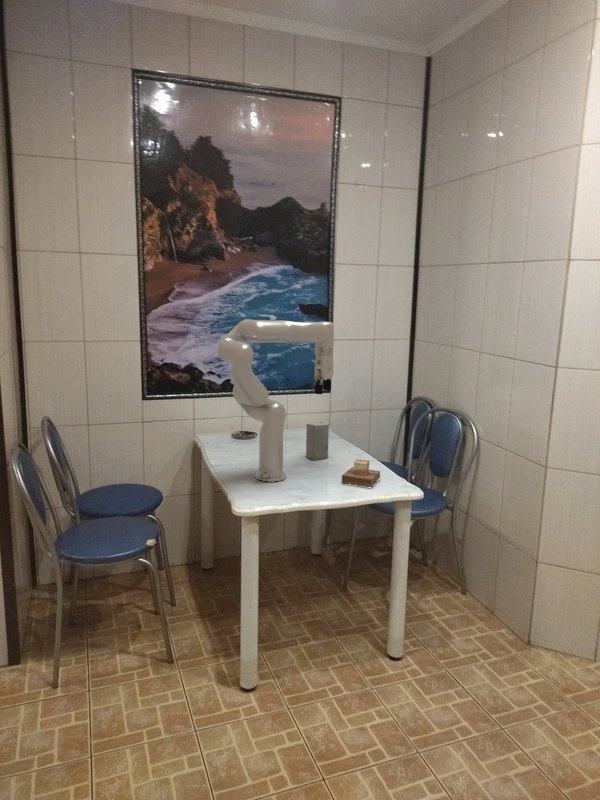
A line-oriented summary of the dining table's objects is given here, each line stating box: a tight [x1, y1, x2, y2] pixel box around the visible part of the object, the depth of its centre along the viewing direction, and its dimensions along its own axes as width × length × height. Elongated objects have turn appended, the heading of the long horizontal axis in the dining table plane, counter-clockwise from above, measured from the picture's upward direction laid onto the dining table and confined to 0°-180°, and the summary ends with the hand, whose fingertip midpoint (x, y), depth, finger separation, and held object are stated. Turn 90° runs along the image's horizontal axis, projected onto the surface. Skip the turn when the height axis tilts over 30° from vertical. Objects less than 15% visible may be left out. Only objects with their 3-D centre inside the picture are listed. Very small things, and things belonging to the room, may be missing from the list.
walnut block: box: [341, 466, 381, 488], centre depth 236 cm, size 12×12×4 cm
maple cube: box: [353, 458, 370, 476], centre depth 235 cm, size 5×5×5 cm
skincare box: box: [305, 421, 330, 461], centre depth 265 cm, size 8×7×16 cm
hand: (322, 392), depth 249 cm, fingers open, 9 cm apart
